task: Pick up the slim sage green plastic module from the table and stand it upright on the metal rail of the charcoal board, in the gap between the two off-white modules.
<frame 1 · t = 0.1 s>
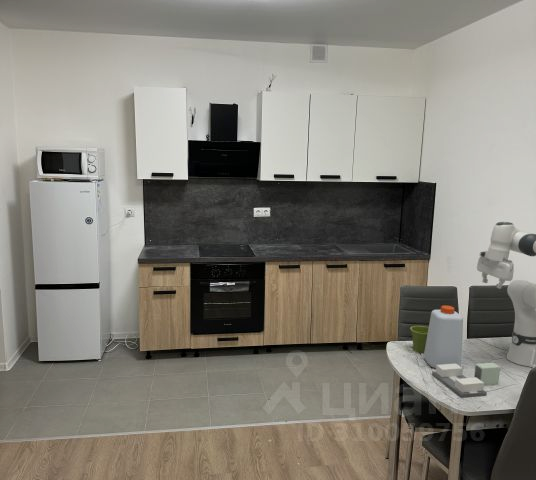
hand: (491, 285, 222), 39 cm above the table, tool pointing down, fingers open, 8 cm apart
plant pot: (420, 351, 241), on the table
plastic bottle: (441, 363, 226), on the table
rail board: (458, 384, 205), on the table
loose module: (485, 382, 208), on the table
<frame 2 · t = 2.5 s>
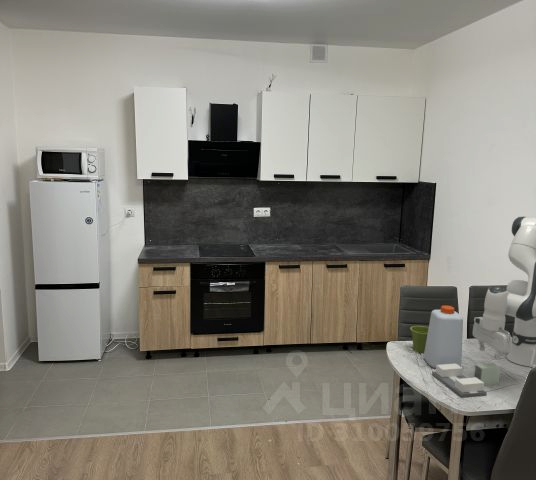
hand: (489, 354, 206), 13 cm above the table, tool pointing down, fingers open, 8 cm apart
nothing on the table moved.
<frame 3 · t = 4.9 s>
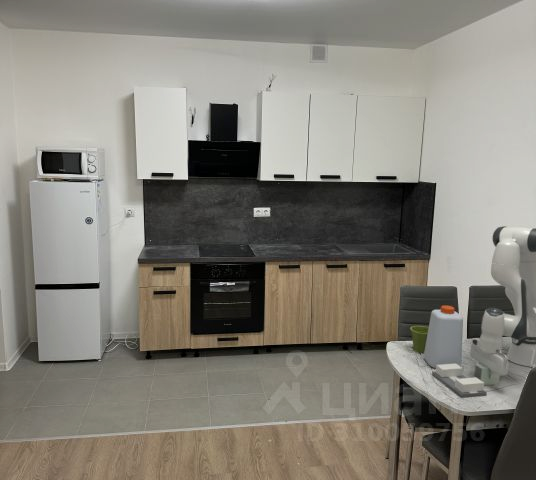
hand: (486, 375, 208), 3 cm above the table, tool pointing down, fingers closed on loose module, 4 cm apart
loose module: (485, 382, 208), on the table, touching gripper
everything else where it was.
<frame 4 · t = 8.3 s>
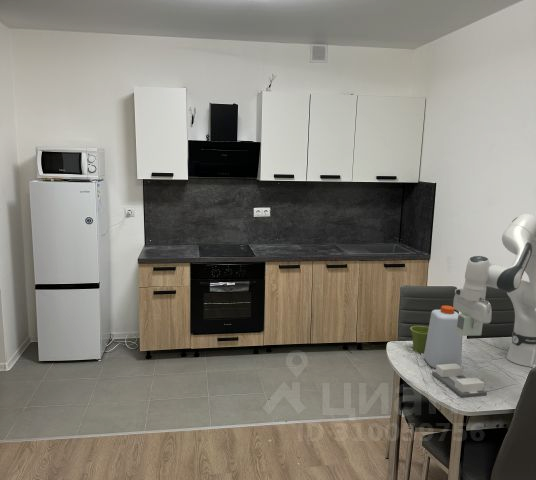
hand: (469, 326, 201), 26 cm above the table, tool pointing down, fingers closed on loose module, 4 cm apart
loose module: (468, 333, 201), point 23 cm above the table, touching gripper
everything else where it was.
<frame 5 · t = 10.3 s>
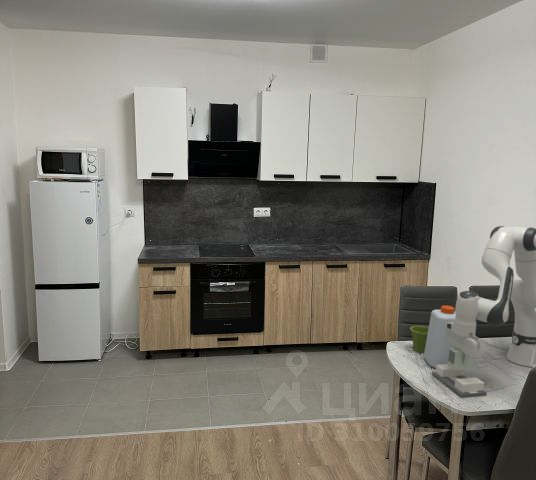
hand: (460, 360, 203), 11 cm above the table, tool pointing down, fingers closed on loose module, 4 cm apart
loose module: (459, 367, 204), point 8 cm above the table, touching gripper
everything else where it was.
when the fingers open (6 cm above the table, at t = 11.8 s): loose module drops 1 cm, resting on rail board.
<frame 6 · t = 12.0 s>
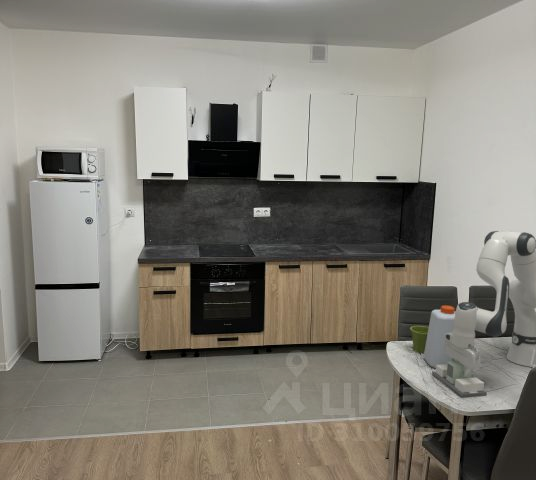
hand: (459, 371, 204), 6 cm above the table, tool pointing down, fingers open, 6 cm apart
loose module: (458, 381, 205), point 2 cm above the table, touching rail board
everything else where it was.
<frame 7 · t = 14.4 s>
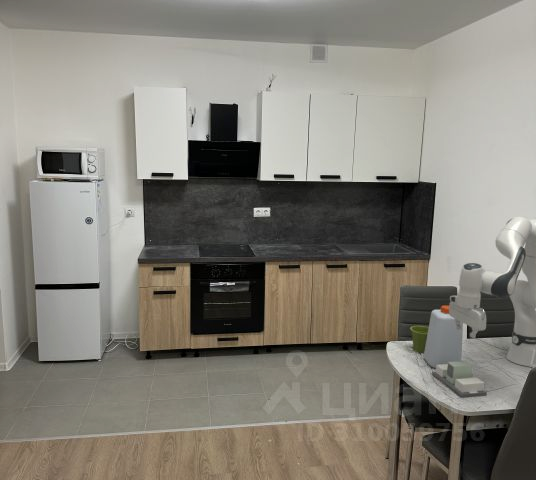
hand: (465, 333, 202), 23 cm above the table, tool pointing down, fingers open, 8 cm apart
nothing on the table moved.
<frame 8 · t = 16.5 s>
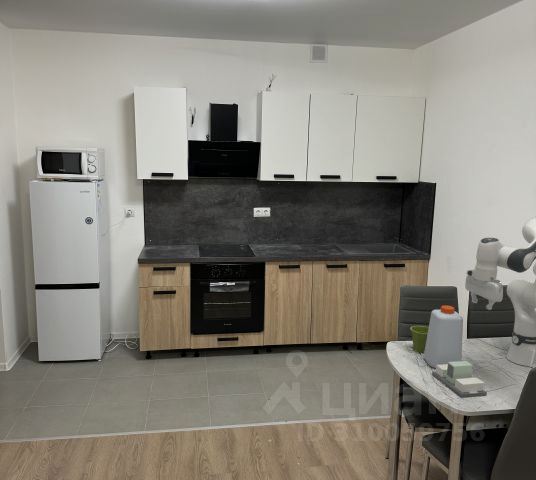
hand: (481, 305, 208), 33 cm above the table, tool pointing down, fingers open, 8 cm apart
nothing on the table moved.
at the end: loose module 0.0 cm off-centre on the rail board, point 1.7 cm above the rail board's base; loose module tilted 0°; the gripper is holding nothing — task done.
